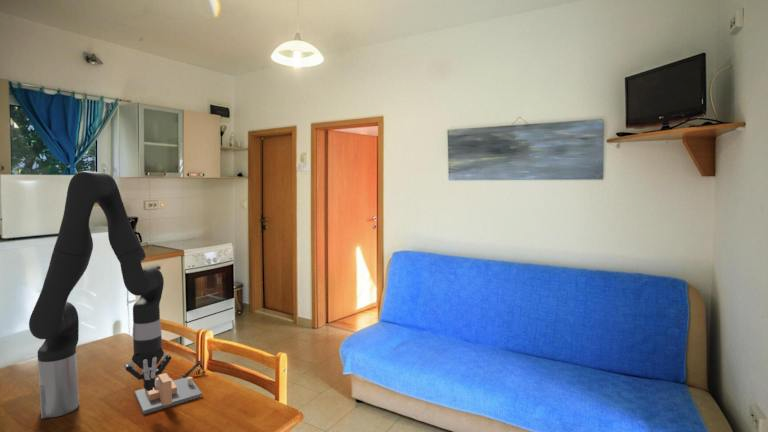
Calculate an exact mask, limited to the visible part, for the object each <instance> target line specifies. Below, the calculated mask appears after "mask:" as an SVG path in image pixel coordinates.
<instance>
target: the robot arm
mask: <svg viewBox="0 0 768 432" xmlns="http://www.w3.org/2000/svg"><path fill="white" fill-rule="evenodd" d="M95 204H98V206H99V207H100V209H101V210H102V211H103V214H104V215H105V219H106V223H107V235H108V236H107V237H108V241H109V244H110V246H111V249H112V251H113V253H114V255H115V256H116V259H117V260H118V262H119V265H120V270H121V271H120V272H121V275H122V280H123V281H122V282H123V284H124V287H125V288H126V289H127V291H128V292H129V293H130V294H131V295H134V296H136V297H137V296H138V297H139V298H138V300H137V301H136V302H134V304H133V305H132V322H133V325H132V333H131V335H132V344H133V347H132V349H133V354H132V356H131V360H130V361H129V363H126V364H124V366H123V367H124V369H125V370H126V372H127V373H129V374H130V375H132V376H133V377H135V378H136V379H137V380H139V381H140V380H142V381H143V382H142V383H143V389H144V388H145V390H147V391H150V390H153V388H154V387H155V379H156V377H158V375H160V374H163V371H164V370H165V368H166V367H167V366H168V364H169V363H170V361H171V360H172V356H171V355H170V354H169V353H165V352H164V350H163V341H162V323H161V314H160V313H161V312H160V311H161V309H160V303H161V299H162V295H163V292H164V291H163V290H164V285H165V283H164V281H165V280H164V277H163V273H162V271H160V269H158V268H156V267H148V268H143V265H142V262H143V261H144V260H145V258H146V252H145V251H144V248H143V246H142V245H141V243H140V241H139V239H138V237H137V236H136V233H135V231H134V228H133V227H132V224H131V222H130V219H129V218H128V217H129V216H128V214H127V211H126V208H125V205H124V202H123V199H122V195H121V191H120V190H119V187H118V185H117V182H116V181H115V179H114V178H113V176H112V175H110V174H108V173H105V172H100V171H84V170H83V171H79V172H77V173H75V174H74V175H73V176H72V177H71V179H70V180H69V183H68V186H67V192H66V197H65V204H64V210H63V215H62V219H61V223H60V227H59V231H58V234H57V237H56V241H55V244H54V247H53V250H52V253H51V257H50V261H49V265H48V268H47V271H46V274H45V277H44V282H43V286H42V288H41V291H40V293H39V296H38V298H37V300H36V303H35V306H34V307H33V310H32V312H31V314H30V315H29V316H30V317H29V320H28V321H29V322H28V328H29V331H30V333H31V335H32V336H33V337H34V338H36V339H38V340H44V341H43V343H42V345H41V346H39V348H38V350H37V366H38V368H37V369H38V380H39V381H38V384H39V385H38V386H39V387H38V388H39V389H38V390H39V405H40V406H39V407H40V418H41V419H46V418H56V417H60V416H61V417H62V416H64V415H67V414H69V413H71V412H73V411H75V410H76V409H77V408H79V405H80V402H79V400H80V398H79V385H78V384H79V382H78V365H77V364H78V362H77V345H78V342H79V338H80V337H79V335H80V334H79V331H80V328H79V326H80V325H79V324H80V323H79V322H80V321H79V320H80V319H79V314H78V311H77V309H76V307H75V305H74V304H72V303H71V302H69V301H68V299H69V296H70V294H71V292H72V291H73V289H74V288H75V287H76V286H77V284H78V283H79V281H80V280H81V278H82V277H83V275H84V274H85V272H86V270H87V269H88V266H89V264H90V261H91V257H92V252H93V249H94V242H93V241H94V240H93V236H92V233H91V229H90V218H91V215H92V212H93V209H94V206H95ZM160 360H161V361H160ZM159 362H160V363H159ZM135 365H136V366H137V367H138V368H140V369H141V373H140V372H139V371H138V370H137V369H135V368H136V366H135Z"/></svg>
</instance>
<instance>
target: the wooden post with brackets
mask: <svg viewBox="0 0 768 432" xmlns="http://www.w3.org/2000/svg"><path fill="white" fill-rule="evenodd" d="M202 363H203V360H202V359H200V360H197V361H196V363H195V364H194V365H193V366H192V367H191V368H189V370H188V371H186V372H185V373H181V376H182V378H183V377H189V375H190V374H191V373H192V372H194V374H195V373H197V372H199V373H201V370H202V371H204V370H205V367H204V365H202ZM197 367H198V368H199V369H198V368H197ZM194 370H196V371H194Z"/></svg>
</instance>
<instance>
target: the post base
mask: <svg viewBox="0 0 768 432" xmlns="http://www.w3.org/2000/svg"><path fill="white" fill-rule="evenodd" d="M193 379H194V377H192V376H189V375H188V376H187V377H186V378H183V377H182V378H178V379H175V380H173V382H174V383H175V385H176V387H177V393H176V394H172V404H169V405H166V406H163V404H162V402H161V400H160V398H158V399H155V400H151V401H149V399H148V397H147V394H146V392H145V388H144V387H143V388H141V389H138V390H135V391H134V396H135V398H136V400H137V403H138V406H139V408H140V410H141V412H142V415H146V414H150V413H154V412H157V411H161V410H164V409H167V408H170V407H172V406H175V405H176V406H177V405H179V404H180V405H181V404H183V403H186V402H189V400H190V401H193V400H196V399H195V398H197V399H199V398H198V397H200V396H202V397H203V392H202V391H201V390H200V388H199V387H198V386H197V384H196V383H195V382H194V380H193ZM155 388H156V390H159V381H158V377H155ZM200 398H201V397H200ZM192 399H193V400H192Z"/></svg>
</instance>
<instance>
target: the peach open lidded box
mask: <svg viewBox="0 0 768 432" xmlns="http://www.w3.org/2000/svg"><path fill="white" fill-rule="evenodd" d="M157 378H158V381H159V390H156V388H155V387H154V388H153V390H150V391H147V390H145V392H146V394H147V397H148V399H149V401H151V400H155V399H158V398H160V400H161V402H162V404H163V406H166V405H169V404H172V394H176V393H177V387H176V385H175V383H174V382H173V381H174V380H173V379H172V377H170V375H168V373H167V372H164V373H161V374H160V375H157Z"/></svg>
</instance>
